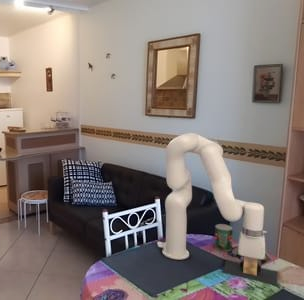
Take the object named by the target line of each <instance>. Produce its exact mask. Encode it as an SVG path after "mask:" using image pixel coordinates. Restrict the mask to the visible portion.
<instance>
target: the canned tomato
mask: <svg viewBox="0 0 304 300" xmlns="http://www.w3.org/2000/svg"><path fill="white" fill-rule="evenodd" d="M214 227H215V229H214V231H215V232H214V248H215V249H216V250H219V251H221V252H230V251H232V250H233V249H232V248H233V230H234V229H233V227H232V226H231V225H228V224H225V223H219V224H218V223H217V224H215V226H214Z"/></svg>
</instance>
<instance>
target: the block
mask: <svg viewBox="0 0 304 300" xmlns="http://www.w3.org/2000/svg"><path fill="white" fill-rule="evenodd" d="M257 263H258V261H257V259H255V258H251V257H246V256H245V257H244V267H243V273H247V274H252V275H256V276H257Z"/></svg>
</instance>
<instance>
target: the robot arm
mask: <svg viewBox="0 0 304 300" xmlns="http://www.w3.org/2000/svg"><path fill="white" fill-rule="evenodd" d="M189 152H193V153H194V154H197V155H199V157H200V160H201V162H202V164H203V167H204V170H205V172H206V174H207V176H208V179H209V182H210V185H211V189H212V193H213V196H214V200H215V203H216V206H217V208H218V210H219V212H220V214H221V216H222V218H224V220H226V221H228V222H230V223H234V222H237V221H240V219H241V218H242V230H241V231H240V232H239V236H238V245H237V246H236V247H235V248H233V249H231V253H232V254H233V255H234V256H235V257H236V258H237V259H238V260H239V263H240V267H241V268H242V271H243V267H244V258H245V257H246V258H251V259H256V260H257V261H258V263H257V274H259V272H261V268H262V266H263V265H264V264H266V263H268V262H271V261H272V257H271V255H269V253H268V252H267V251H266V237H265V235H267V233H268V231H267V230H264V219H265V218H264V217H265V206H264V205H262V203H258V202H254V201H253V202H252V201H251V202H248V201H244V200H241V199H238V198H237V199H236V198H235V196H234V193H233V187H232V176H231V173H230V171H229V169H228V167H227V164H226V162H225V160H224V157H223V155H224V149H223V147H222V146H221V145H220V144H219V143H217V142H214V141H213V140H211V139H209V138H206V137H204V136H202V135H199V134H198V133H195V132H187V133H183V134H179V136H176V137H174V138H172V140H170V141H169V142H168V144H167V146H166V148H165V174H166V175H165V176H166V178H165V179H166V184H167V187H169V188H170V189H171V190H172V191H171V192H170V193H169V194H168V195H167V196H166V198H165V201H164V207H165V241H164V242H163V241H159V240H158V241H157V244H156V245H157V247H158V248H162V250H161V252H162V254H163V256H164V257H166V258H169V259H172V260H179V261H180V260H186V259H188V258H189V257H190V252H189V251H188V250H187V226H188V225H187V224H188V218H187V217H188V216H187V207H188V206H189V205H190V204H191V202H192V199H193V184H192V183H193V182H192V173H191V172H190V171H189V170H188V168H186V167H185V166H186V161H185V155H186V154H187V153H189Z"/></svg>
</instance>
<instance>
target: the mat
mask: <svg viewBox="0 0 304 300" xmlns="http://www.w3.org/2000/svg"><path fill="white" fill-rule="evenodd" d="M223 266H224V267H223V269H222V273H225V274H229V275H232V276H237V277H241V278H246V279H249V280H253V281H258V282H262V283H266V284H270V285H274V286H278V271H277V270H272V269H267V268H263V267H261V272H259V274H257V276H256V275H252V274H247V273H243V271H242V268H241V267H240V262H236V261H232V260H225V264H224V265H223Z"/></svg>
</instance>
